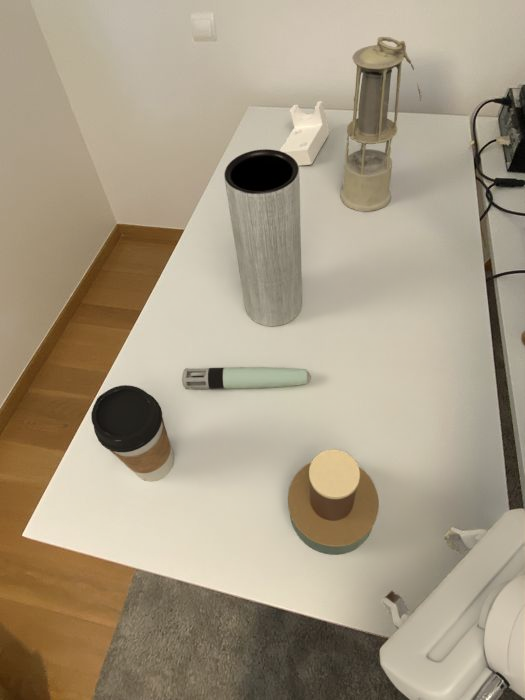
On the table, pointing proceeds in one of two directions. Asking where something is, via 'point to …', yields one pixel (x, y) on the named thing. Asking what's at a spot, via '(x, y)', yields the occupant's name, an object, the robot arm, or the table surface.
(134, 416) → the coffee cup
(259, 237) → the vase
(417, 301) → the table surface
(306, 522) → the coffee tin
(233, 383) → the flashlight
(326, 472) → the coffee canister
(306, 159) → the bracket
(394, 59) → the lamp
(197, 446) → the table surface
